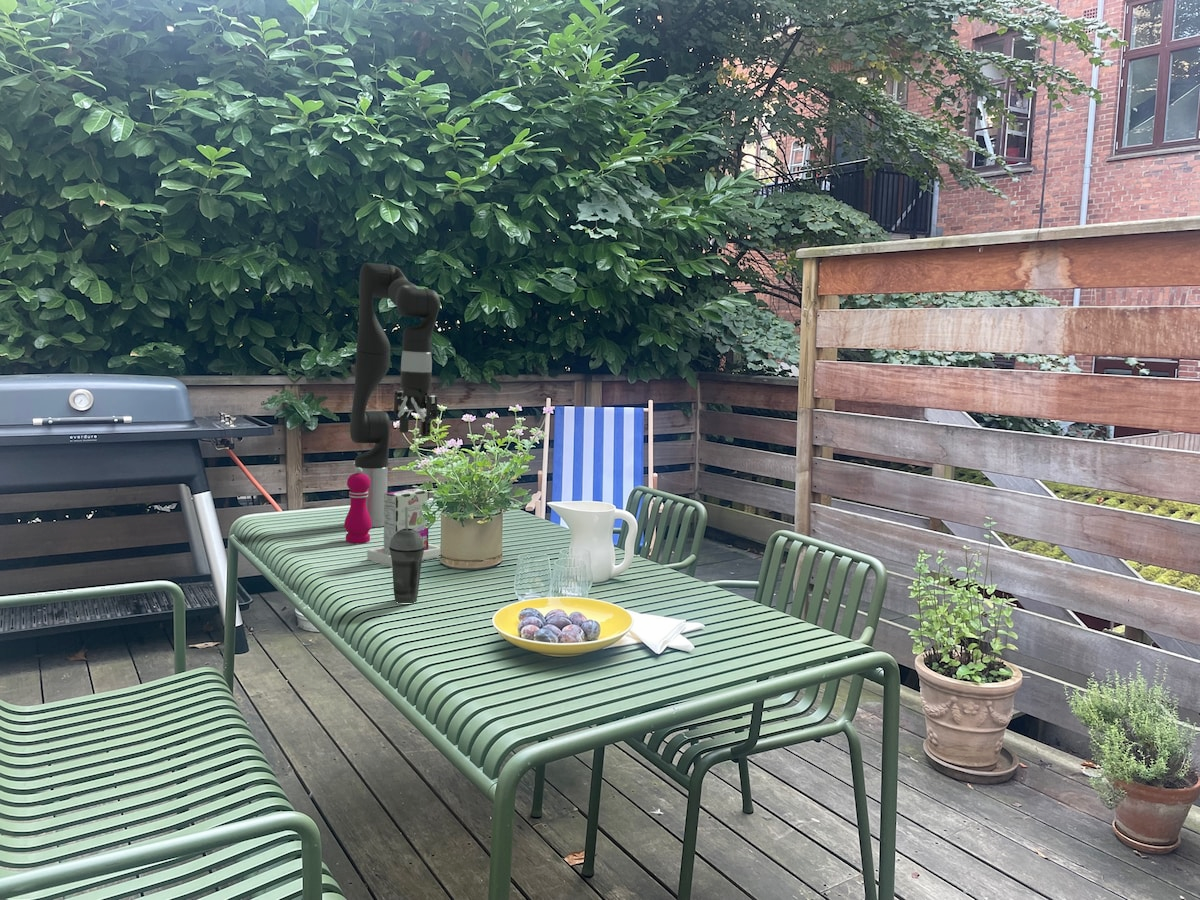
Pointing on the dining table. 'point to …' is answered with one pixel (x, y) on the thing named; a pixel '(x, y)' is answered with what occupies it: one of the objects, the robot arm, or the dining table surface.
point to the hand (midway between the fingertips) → (414, 434)
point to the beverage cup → (406, 563)
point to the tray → (386, 559)
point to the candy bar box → (396, 514)
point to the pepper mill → (358, 509)
